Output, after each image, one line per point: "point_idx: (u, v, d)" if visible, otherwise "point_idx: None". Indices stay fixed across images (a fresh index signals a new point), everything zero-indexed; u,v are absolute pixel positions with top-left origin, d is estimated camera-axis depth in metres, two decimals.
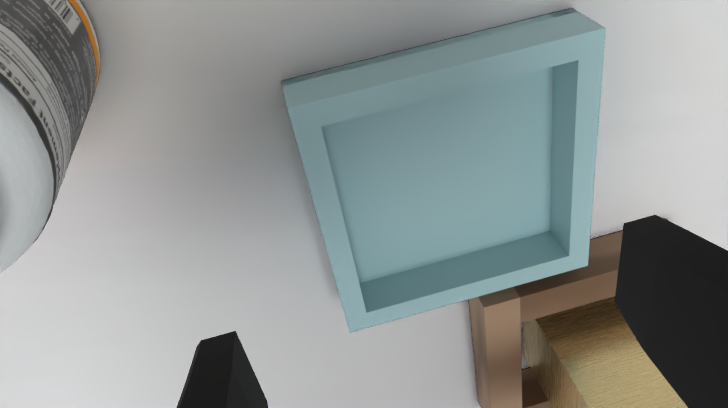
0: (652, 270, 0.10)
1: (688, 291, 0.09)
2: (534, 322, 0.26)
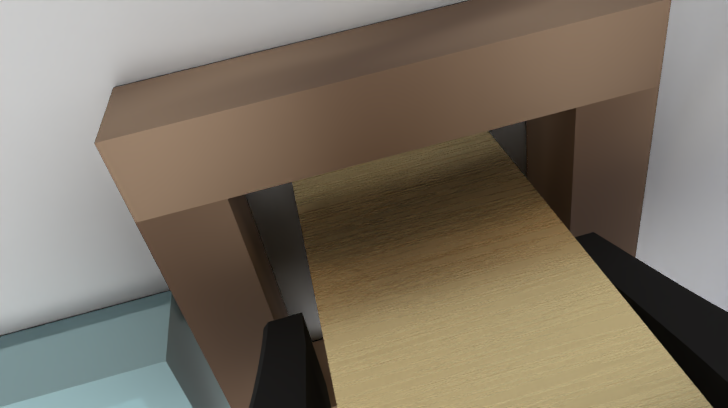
0: None
1: None
2: None
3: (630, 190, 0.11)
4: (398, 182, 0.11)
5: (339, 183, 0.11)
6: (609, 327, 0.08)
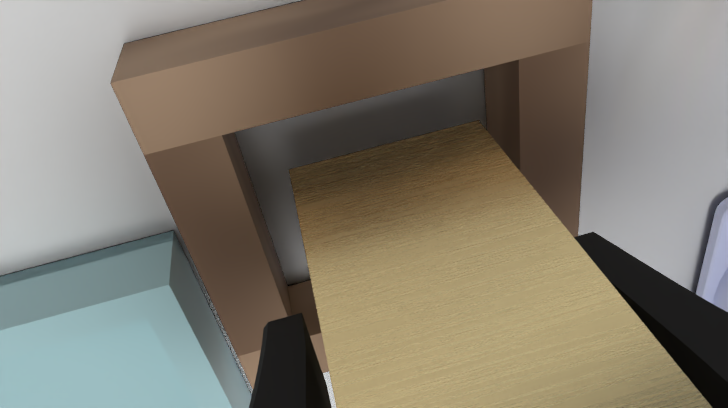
0: None
1: None
2: None
3: (571, 135, 0.13)
4: (397, 182, 0.11)
5: (338, 183, 0.11)
6: (607, 326, 0.08)
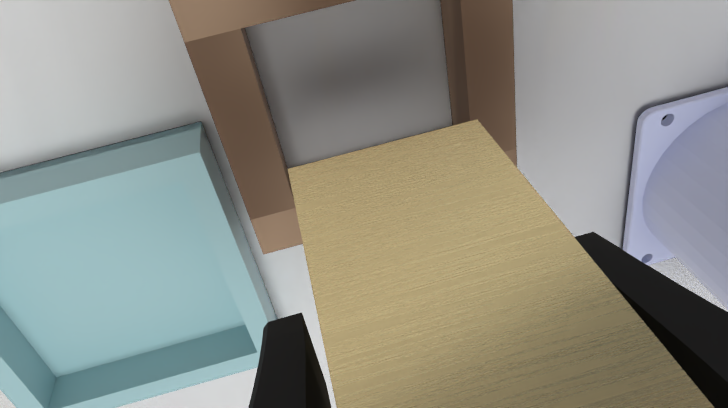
0: None
1: None
2: None
3: (503, 38, 0.17)
4: (396, 181, 0.11)
5: (336, 182, 0.11)
6: (607, 324, 0.08)
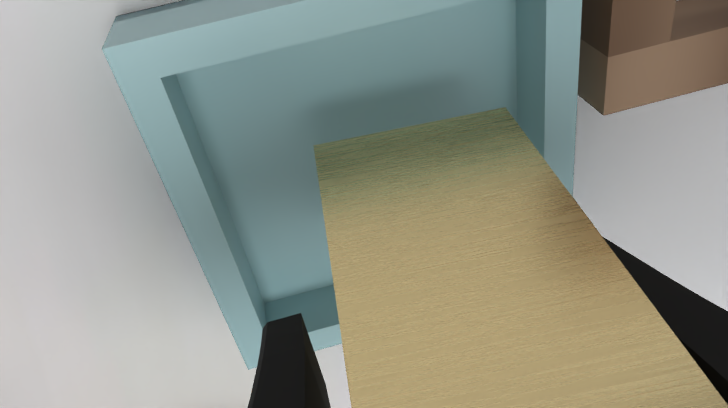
0: None
1: None
2: None
3: None
4: (419, 163, 0.11)
5: (360, 161, 0.11)
6: (622, 313, 0.08)
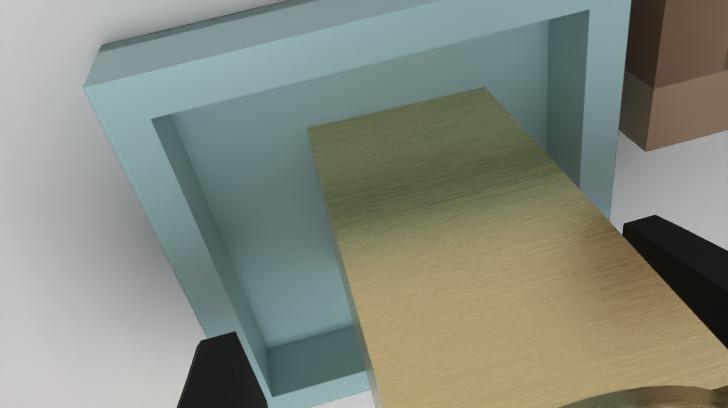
0: None
1: (688, 291, 0.09)
2: None
3: None
4: (409, 138, 0.12)
5: (353, 139, 0.12)
6: (605, 254, 0.08)
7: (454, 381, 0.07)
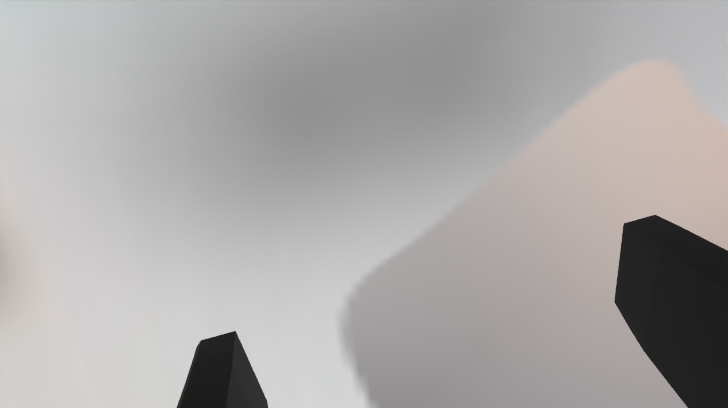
0: (652, 270, 0.10)
1: (688, 291, 0.09)
2: None
3: None
4: None
5: None
6: None
7: None
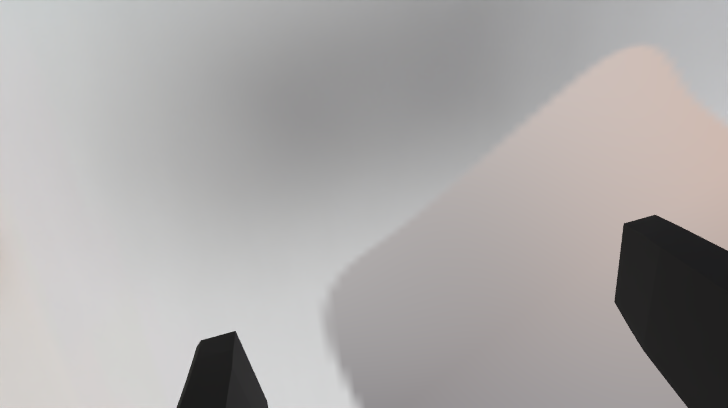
0: (652, 270, 0.10)
1: (688, 291, 0.09)
2: None
3: None
4: None
5: None
6: None
7: None
